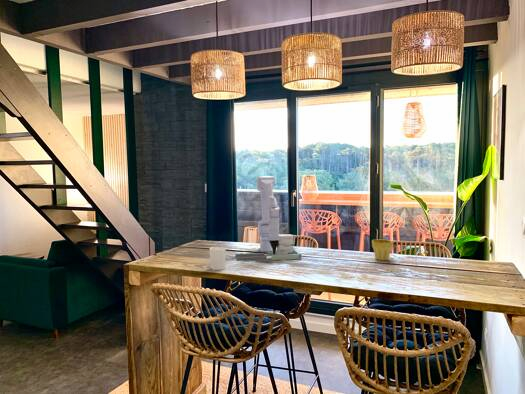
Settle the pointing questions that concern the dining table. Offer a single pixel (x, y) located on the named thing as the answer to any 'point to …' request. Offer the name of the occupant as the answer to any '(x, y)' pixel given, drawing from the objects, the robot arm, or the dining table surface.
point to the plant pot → (382, 248)
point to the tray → (285, 255)
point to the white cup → (217, 258)
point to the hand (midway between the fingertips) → (274, 254)
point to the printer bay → (248, 257)
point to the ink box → (285, 245)
